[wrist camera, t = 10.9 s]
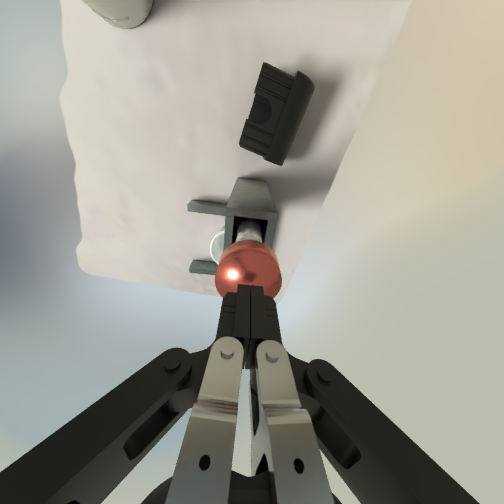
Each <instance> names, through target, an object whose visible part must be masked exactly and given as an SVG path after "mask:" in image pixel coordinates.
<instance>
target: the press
mask: <svg viewBox="0 0 504 504" xmlns="http://www.w3.org/2000/svg"><path fill="white" fill-rule="evenodd" d="M187 205H188V211H190V212H198V213H206V214H214V215H222V216H226V219H225V234H224V248H223V252H224V250H225V249H226V248H227V247H228V246H230V245H231V244H233V243H235V242H236V239H237V232H238V225H239V220H240V218H241V217H248V218H256V219H259V221H260V229H261V238H262V243H264V244H266V245H267V246H269V247H270V248H271V245H272V240H273V235H274V230H275V225H276V221H277V216H278V212H277V210H276V207H275V204H274V202H273V199H272V197H271V194H270V192H269V189H268V187H267V184H266V182H265V181H257V180H250V179H243V178H237V180H236V183H235V186H234V188H233V191H232V193H231V196H230V199H229V201H228V204H219V203H211V202H203V201H196V200H192V201H191V202H190V203H188V204H187ZM217 268H218V264H217V263H216V262H207V261H198V260H193V261H192V263H191V265H190V267H189V271H190V273H200V274H210V275H216V272H217Z"/></svg>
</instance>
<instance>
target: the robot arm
mask: <svg viewBox="0 0 504 504" xmlns="http://www.w3.org/2000/svg"><path fill="white" fill-rule="evenodd" d="M82 1H83V2H84V3H85V4H87V5H88V6H89V7H90V8H91V9H92V10H93V11H94V12H95V13H97V14H98V15H99V16H101V17H102V18H103V19H104V20H106V21H107V22H109V23H110V24H112V25H114V26H117V27H120V28H133V27H136V26H138V25H139V24H141V23H142V22H143V21H144V20H145V19H146V18H147V16H148V14H149V12H150V10H151V8H152V4H153V0H82ZM244 365H245V369H250V382H249V401H250V419H251V437H252V440H251V475H252V477H246V476H244V475H241V474H239V473H237V472H235V471H232V470H231V468H232V459H233V449H234V441H235V431H236V422H237V412H238V411H237V410H238V397H239V389H240V380H241V373H242V369H244ZM192 407H193V408H192ZM189 408H192V411H191V415H190V418H189V422H188V425H187V428H186V432H185V436H184V439H183V443H182V446H181V450H180V453H179V457H178V460H177V463H176V467H175V470H174V474H173V476H172V477H170V478H169V479H167V480H166V481H164V482H163V483H161V484H160V485H159V486H158V487H157V488H156V489H154V490H153V491H152V492H151V493H150V494H149V495H148V496H147V497H146V499H145V500H144V501H143V502H142V503H141V504H342V503H341V502H340V501H339V500H338V498H337V497H336V496H335V495H334V494H333V493H332V492H331V489H330V486H329V482H328V479H327V475H326V471H325V468H324V464H323V460H322V457H321V453H320V450H321V451H322V453H323V454H324V455H325V457H326V458H327V459H328V461H329V462H330V463H331V465H332V466H333V467H334V468H335V470H336V471H337V472H338V474H339V475H340V476H341V478H342V479H343V480H344V482H345V483H346V484H347V486H348V487H349V488H350V490H351V491H352V492H353V494H354V495H355V496H356V497H357V499H358V500H359V501H360V503H361V504H479V503H478V502H477V501H476V500H475V499H474V498H473V497H472V496H471V495H470V494H469V493H468V492H466V490H464V489H463V488H462V487H461V486H460V485H459V484H458V483H457V482H456V481H455V480H454V479H453V478H452V477H451V476H449V475H448V474H447V473H446V472H445V471H444V470H443V469H442V468H441V467H440V466H439V465H438V464H437V463H436V462H435V461H434V460H433V459H431V458H430V457H429V456H428V455H427V454H426V453H425V452H424V451H423V450H422V449H421V448H420V447H419V446H418V445H417V444H415V443H414V442H413V441H412V440H411V439H410V438H409V437H408V436H407V435H406V434H405V433H404V432H403V431H402V430H401V429H399V428H398V427H397V426H396V425H395V424H394V423H393V422H392V421H391V420H390V419H389V418H388V417H387V416H386V415H385V414H384V413H382V412H381V411H380V410H379V409H378V408H377V407H376V406H375V405H374V404H373V403H372V402H371V401H370V400H369V399H368V398H367V397H366V396H364V395H363V394H362V393H361V392H360V391H359V390H358V389H357V388H356V387H355V386H354V385H353V384H352V383H351V382H349V380H347V379H346V378H345V377H344V376H343V375H342V374H341V373H340V372H339V371H338V370H337V369H336V368H334V366H332V365H331V364H330V363H328V362H327V361H325V360H321V359H314V360H312V361H311V362H310V363H307V362H304V361H302V360H299V359H297V358H295V357H293V356H292V355H290V354H289V353H288V352H287V351H286V349H285V348H284V346H283V344H282V340H281V334H280V327H279V321H278V315H277V309H276V302H275V301H274V300H273V298H272V297H271V296H267V295H264V290H263V286H255V285H251V286H250V285H244V284H238V286H237V293H235V292H227V294H226V295H225V296H224V297H223V301H222V307H221V313H220V319H219V324H218V329H217V335H216V339H215V341H214V342H213V344H212V345H211V346H210V347H208V348H207V349H205V350H202V351H199V352H195V353H191V354H189V353H188V351H186V350H185V349H182V348H171V349H168V350H166V351H165V352H163V353H162V354H161V355H159V356H158V357H156V358H155V359H153V360H152V361H151V362H150V363H148V364H147V365H145V366H144V367H143V368H141V369H140V370H139V371H137V372H136V373H134V374H133V375H132V376H130V377H129V378H128V379H126V380H125V381H124V382H122V383H121V384H119V385H118V386H117V387H115V388H114V389H113V390H111V391H110V392H109V393H107V394H106V395H105V396H103V397H102V398H100V399H99V400H98V401H96V402H95V403H94V404H92V405H91V406H90V407H88V408H87V409H86V410H84V411H83V412H81V413H80V414H79V415H77V416H76V417H75V418H74V419H72V420H71V421H69V422H68V423H67V424H65V425H64V426H62V427H61V428H60V429H58V430H57V431H56V432H54V433H53V434H52V435H50V436H49V437H48V438H46V439H45V440H44V441H42V442H41V443H40V444H38V445H37V446H35V447H34V448H33V449H32V450H30V451H29V452H27V453H26V454H24V455H23V456H22V457H20V458H19V459H18V460H16V461H15V462H14V463H12V464H11V465H10V466H8V467H7V468H5V469H4V470H3V471H1V472H0V504H101V503H102V502H103V501H104V499H105V498H106V497H107V496H108V495H109V494H110V493H111V492H112V491H113V490H114V489H115V488H116V487H117V486H118V484H119V483H120V482H121V481H122V480H123V479H124V478H125V477H126V476H127V475H128V474H129V473H130V472H131V471H132V469H133V468H134V467H135V466H136V465H137V464H138V463H139V462H140V461H141V460H142V459H143V458H144V457H145V455H146V454H147V453H148V452H149V451H150V450H151V449H152V448H153V447H154V446H155V445H156V444H157V442H159V440H160V439H161V438H162V437H163V436H164V435H165V434H166V433H167V432H168V431H169V430H170V429H171V427H172V426H173V425H174V424H175V423H176V422H177V421H178V420H179V419H180V418H181V417H182V416H183V415H184V414H185V412H186V411H187V410H188V409H189ZM319 449H320V450H319ZM294 466H295V467H294Z"/></svg>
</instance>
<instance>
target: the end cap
mask: <svg viewBox="0 0 504 504" xmlns="http://www.w3.org/2000/svg"><path fill="white" fill-rule="evenodd" d="M313 91H314V84H313V82H312V81H311V80H310V79H309V78H308V77H307V76H306V75H304V74H303V73H301V72H300V71H297V73H296V74H295V76H294V77H293V76H291V75H289V74H287V73H285V72H283V71H281V70H279V69H277V68H275V67H273V66H272V65H270V64H268V63H265V62H263V65H262V68H261V72H260V75H259V78H258V82H257V85H256V88H255V92H254V93H256V94H255V97H254V102H253V105H252V108H251V111H250V115H249V118H248V119H246V122H245V125H244V128H243V131H242V135H241V138H240V142H239V145H240V147H242V148H244V149H247V150H249V151H251V152H254V153H256V154H258V155H261V156H263V158H264V159H265V160H267V161H269V162H272V163H274V164H277V165H280V166H282V165H283V163H284V161H285V158H286V156H287V153H288V151H289V149H290V146H291V144H292V141H293V139H294V137H295V134H296V132H297V130H298V127H299V125H300V122H301V120H302V118H303V115H304V113H305V110H306V108H307V106H308V103H309V101H310V98H311V96H312V94H313Z"/></svg>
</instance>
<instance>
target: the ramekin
mask: <svg viewBox="0 0 504 504" xmlns="http://www.w3.org/2000/svg"><path fill="white" fill-rule="evenodd" d="M224 234H225V227H223V228H222V229H221V230H220V231H219V232H218V233H217V234H216V235H215V237H214V238H213V239H212V242H211V245H210V252H211V256H212V258H213V259H214V261H215V262H216V263H217V264H218V265H219V261H220V257H221V255H222V253H223V248H224Z"/></svg>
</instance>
